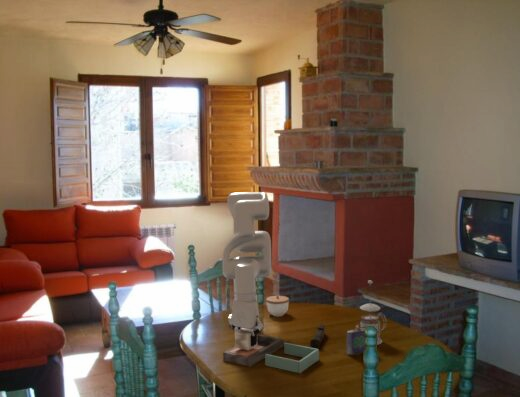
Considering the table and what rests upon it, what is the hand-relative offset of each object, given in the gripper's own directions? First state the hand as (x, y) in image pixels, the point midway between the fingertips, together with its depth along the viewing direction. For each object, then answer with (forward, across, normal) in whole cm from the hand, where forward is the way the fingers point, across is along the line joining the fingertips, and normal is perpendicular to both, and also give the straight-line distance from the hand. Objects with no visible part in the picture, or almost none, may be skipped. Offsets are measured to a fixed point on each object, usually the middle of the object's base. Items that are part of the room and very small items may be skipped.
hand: (246, 343), depth 205 cm
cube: (+1, 0, 0) cm, 1 cm away
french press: (+6, +34, +40) cm, 53 cm away
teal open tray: (+6, +17, +4) cm, 18 cm away
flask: (+6, +34, +25) cm, 43 cm away
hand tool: (+6, +15, +30) cm, 34 cm away
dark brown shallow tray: (+6, 0, +5) cm, 8 cm away
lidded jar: (+6, -18, +53) cm, 57 cm away
